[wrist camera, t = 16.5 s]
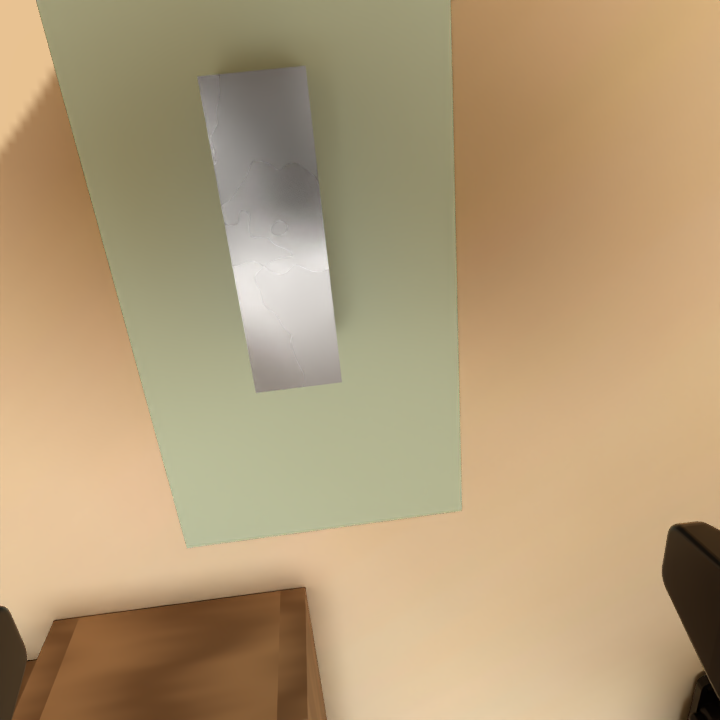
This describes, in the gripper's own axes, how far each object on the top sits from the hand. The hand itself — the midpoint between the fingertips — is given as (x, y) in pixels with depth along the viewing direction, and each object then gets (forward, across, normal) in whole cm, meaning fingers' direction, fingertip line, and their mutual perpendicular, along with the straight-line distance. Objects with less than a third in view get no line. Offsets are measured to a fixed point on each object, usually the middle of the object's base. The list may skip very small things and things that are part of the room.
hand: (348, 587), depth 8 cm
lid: (+13, +1, -3) cm, 13 cm away
